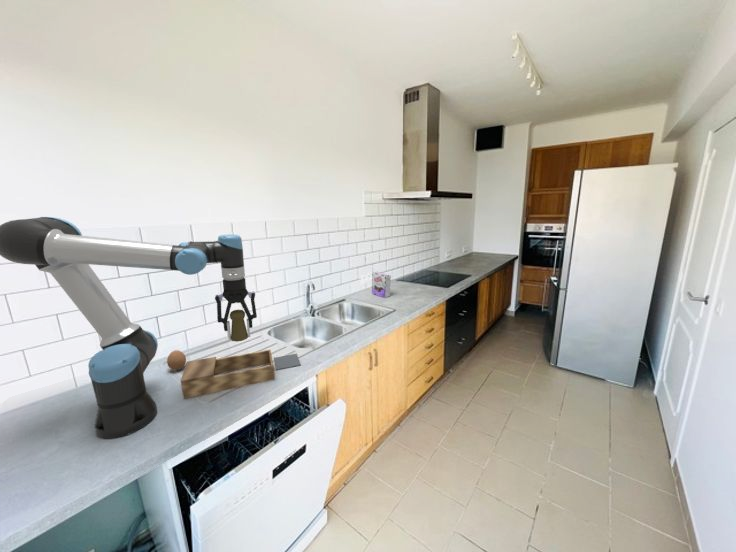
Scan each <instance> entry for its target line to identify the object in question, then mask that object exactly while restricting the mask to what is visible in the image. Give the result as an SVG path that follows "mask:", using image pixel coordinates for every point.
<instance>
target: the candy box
mask: <svg viewBox="0 0 736 552" xmlns="http://www.w3.org/2000/svg"><path fill="white" fill-rule="evenodd" d="M371 276H372V277H371V294H372V295H373V296H374V295H375V296H377V297H381V298H384V299H386V298H389V297H391V281H392V280H391V279H392V276H391V274H388V273H384V272H380V271H374V272H372V274H371Z"/></svg>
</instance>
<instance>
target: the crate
mask: <svg viewBox="0 0 736 552" xmlns="http://www.w3.org/2000/svg"><path fill="white" fill-rule="evenodd" d="M264 365H265V366H264ZM184 366H185V367H184V369H183V372H182V375H181V378H180V386H181V391H182V398H183V399H188V398H193V397H198V396H203V395H207V394H212V393H216V392H221V391H222V392H223V391H227V390H232V389H235V388H240V387H245V386H246V387H247V386H250V385H255V384H261V383H265V382H269V381H273V380H276V379H275V364H274V359H273V357H272V351H271V349H266V350H260V351H254V352H250V353H243V354H238V355H231V356H225V357H220V358H217V357H216V356H211V357H206V358H200V359H194V360H189V361H186V363H185V365H184ZM259 366H260V367H259ZM231 371H233V372H231ZM227 372H228V373H227ZM221 373H222V374H221ZM215 374H216V375H215ZM202 394H203V395H202Z"/></svg>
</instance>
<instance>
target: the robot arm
mask: <svg viewBox="0 0 736 552" xmlns="http://www.w3.org/2000/svg"><path fill="white" fill-rule="evenodd" d="M0 256H1V257H2V258H4V259H5V260H7V261H10V262H12V263H16V264H20V265H35V267H36V268H37V269H38V271H39V272H46V273H49V274H50V275H51V276H52V277H53V279H54V280H55V281H56V282H57V283H58V285H59V286H60V287H61V289H62V290H63V291H64V292H65V294H66V295H67V296H68V297H69V299H70V300H71V301H72V302H73V304H74V305H75V306H76V308H77V309H78V310H79V311H80V312H81V314H82V315H83V316H84V317H85V319H86V320H87V321H88V322H89V324H90V325H91V326H92V328H93V330H95V332H96V333H97V334H98V335H99V336H100V338H101V341H100V342H99V346H100V348H101V349H102V350H99V351H98V352H96V353H95V354H94V355H93V356H92V357H90V359H89V362H88V376H89V378H90V381H91V385H92V388H93V393H94V395H95V396H94V397H95V400H96V404H97V411H96V417H95V421H94V431H95V434H96V435H97V437H99V438H101V439H116V438H121V437H124V436H128V435H130V434H133V433H135V432H137V431H139V430H140V429H142V428H144V427H145V426H147V425H148V424H149V423H151V422H152V420H154V419H155V417H156V416H157V414H158V408H157V403H156V401H155V400H154V399H153V397H152V396H151V395H150V394H149V392H148V391H147V387H146V382H145V377H144V373H145V371H146V370H147V368H148V366H149V365H150V363H151V361H152V360H153V359H154V358H155V356H156V354H157V350H158V346H159V345H158V339H157V338H156V336H155V335H154V334H153V333H152V332H151V331H149V330H144V329H143V328H142V326H141V325H140V324H139V323H132V322H131V321H130V318H128V317H127V315H126V313H125V312H124V311H123V310H122V308H121V307H120V306H119V304H118V303H117V301H116V300H115V299H114V297H113V296H112V294H111V293H110V291H108V289H107V287H106V286H105V285H104V284H103V282H102V280H101V279H100V278H99V277H98V275H97V274H96V272H95V271H94V270H93V268H92V267H91V265H93V266H107V267H123V268H136V269H137V268H138V269H150V270H151V269H152V270H163V271H164V270H165V271H176V272H177V271H178V272H181V273H182V274H184V275H189V276H190V275H191V276H192V275H196V274H199V273H200V272H202V271H203V270H204V269H206V267H207V264H218V263H220V268H221V269H220V270H221V278H222V287H223V292H222V293H221V294H216V295H215V296H214V300H215V301H216V311H217V312H216V314H217V317H216V318H217V319H216V320H217V322H218V323H222V324H223V330H224V332H227V336H228V337H227V338H228V339H227V340H228V341H232V340H231V323H230V320H229V317H230V313H231V308H232V305H233V304H240V305H241V306H242V308H243V309H242V310H243V311H244V312H245V316H246V317H247V318H246V330H247V334H248V338H250V337H251V333H250V329H252V328H253V319H257V318H258V316H257V309H256V301H255V297H256V292H255V291H248V289H247V284H246V283H247V282H246V278H245V276H246V273H245V271H246V270H245V262H244V260H245V259H244V247H243V241H242V236H240V235H238V234H220V235H219V236H218V237H217V240H214V241H186V242H185V241H183V242H180V243H179V244H178V245H177V244H176V245H174V244H169V243H168V244H167V243H159V242H158V243H156V242H149V241H148V242H145V241H136V240H126V239H117V238H110V237H109V238H107V237H98V236H97V237H96V236H88V235H83V234H82V232H81V231H80V229H79V228H78V227H77V225H75V224H73V222H70V221H68V220H66V219H62V218H58V217H50V216H40V217H33V218H25V219H24V218H23V219H14V220H13V219H12V220H8V221H6V222H4V223H2V224H0ZM247 297H248V298H249V299H250V303H251V309H252V314H251V312H250V310H249V308H248V306H247V303H246V300H245V299H246V298H247ZM223 298H224V299H225V301H227V304H226V307H225V308H226V309H225V313H224V317H223V316H222V315H223V314H222V301H223Z"/></svg>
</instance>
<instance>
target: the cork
mask: <svg viewBox="0 0 736 552" xmlns="http://www.w3.org/2000/svg"><path fill="white" fill-rule="evenodd" d="M245 316H246V313H245V311H244V309H234V310H232V311H230V312H229V318H230V320H231V327H230V332H231V340H230V341H232V342H242V341H245V340H247V339H248V338H249V337H248V331H247V325H246V323H245Z"/></svg>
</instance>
